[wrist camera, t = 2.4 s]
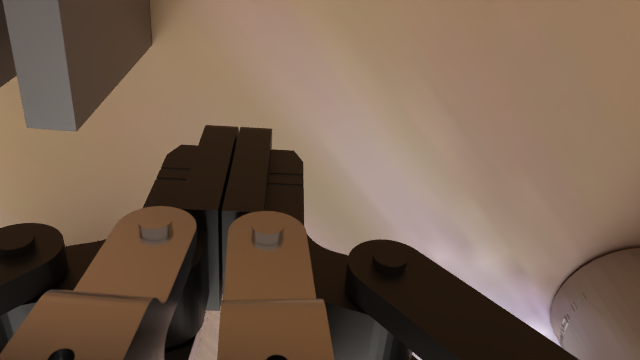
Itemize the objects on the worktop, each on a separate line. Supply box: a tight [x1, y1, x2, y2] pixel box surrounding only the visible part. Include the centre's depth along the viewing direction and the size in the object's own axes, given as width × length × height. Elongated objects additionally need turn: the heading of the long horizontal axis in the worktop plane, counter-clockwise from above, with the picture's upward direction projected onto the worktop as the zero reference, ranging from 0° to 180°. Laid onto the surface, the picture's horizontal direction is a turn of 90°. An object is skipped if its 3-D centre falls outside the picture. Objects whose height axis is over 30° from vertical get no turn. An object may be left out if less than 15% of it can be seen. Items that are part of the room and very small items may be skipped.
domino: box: [3, 0, 152, 132], centre depth 21 cm, size 2×5×10 cm, turn 174°
